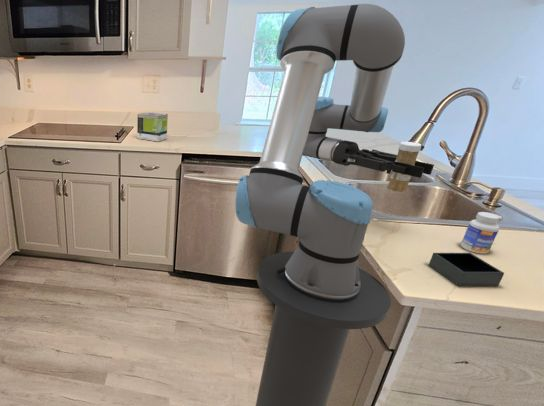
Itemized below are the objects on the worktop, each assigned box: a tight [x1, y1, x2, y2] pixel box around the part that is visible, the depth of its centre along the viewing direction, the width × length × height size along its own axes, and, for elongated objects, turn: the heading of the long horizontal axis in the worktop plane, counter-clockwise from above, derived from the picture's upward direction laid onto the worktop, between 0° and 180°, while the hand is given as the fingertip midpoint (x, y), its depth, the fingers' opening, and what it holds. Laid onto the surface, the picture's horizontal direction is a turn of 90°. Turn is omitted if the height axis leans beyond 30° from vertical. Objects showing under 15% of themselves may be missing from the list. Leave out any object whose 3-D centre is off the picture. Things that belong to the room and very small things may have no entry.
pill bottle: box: [460, 211, 501, 254], centre depth 93 cm, size 5×5×10 cm
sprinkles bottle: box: [386, 141, 422, 193], centre depth 100 cm, size 5×5×14 cm
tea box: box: [136, 111, 169, 142], centre depth 213 cm, size 15×10×15 cm
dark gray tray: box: [428, 252, 505, 287], centre depth 84 cm, size 8×8×4 cm
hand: (426, 171), depth 96 cm, fingers closed on sprinkles bottle, 4 cm apart
